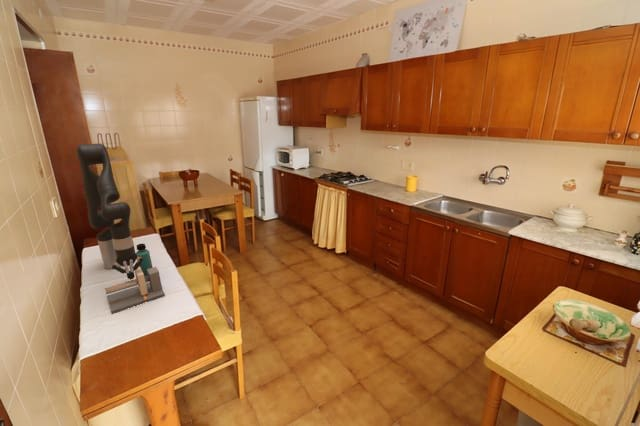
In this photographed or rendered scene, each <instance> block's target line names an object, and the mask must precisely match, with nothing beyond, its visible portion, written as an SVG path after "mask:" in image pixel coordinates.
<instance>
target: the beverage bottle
mask: <svg viewBox="0 0 640 426" xmlns="http://www.w3.org/2000/svg"><path fill="white" fill-rule="evenodd" d="M136 250H137V251H135V253H136V254H137V256H138V257H142V258H143V261H142V263H141V264H140V266H139V267H140V268H141V270H142V272H143V274H144V276H147V275H148V272H147V269H150V268H153V267H154V266H153V262H152V259H151V255H150V254H151V253H150V250H149V249H147V246H146V244H145V243H138V244H137V245H136Z"/></svg>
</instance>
